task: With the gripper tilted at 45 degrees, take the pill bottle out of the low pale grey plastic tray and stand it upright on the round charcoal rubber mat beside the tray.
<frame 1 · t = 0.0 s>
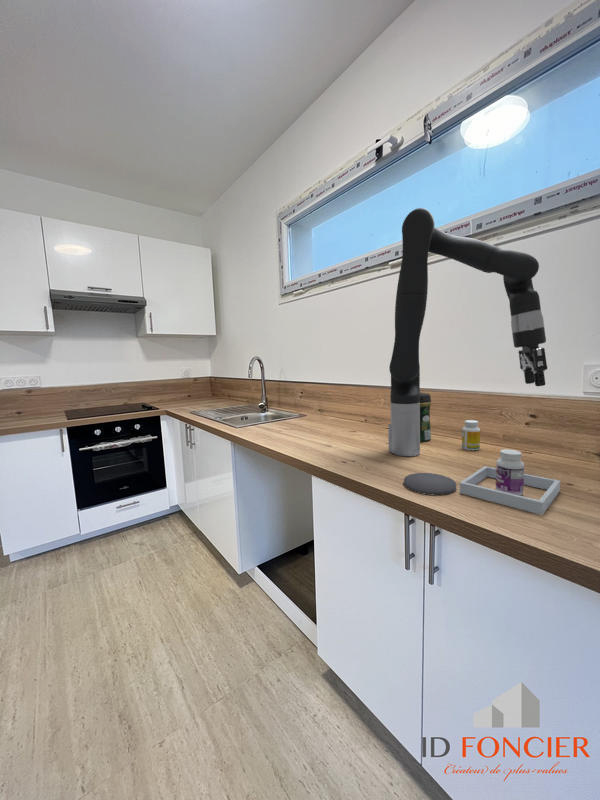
hand: (535, 384, 92), 22 cm above the worktop, tool pointing down, fingers open, 8 cm apart
grey tray: (509, 492, 73), on the worktop
charcoal mat: (429, 485, 79), on the worktop
pill bottle: (509, 493, 73), resting in grey tray
coffee jar: (417, 439, 124), on the worktop
supplement bottle: (470, 449, 108), on the worktop
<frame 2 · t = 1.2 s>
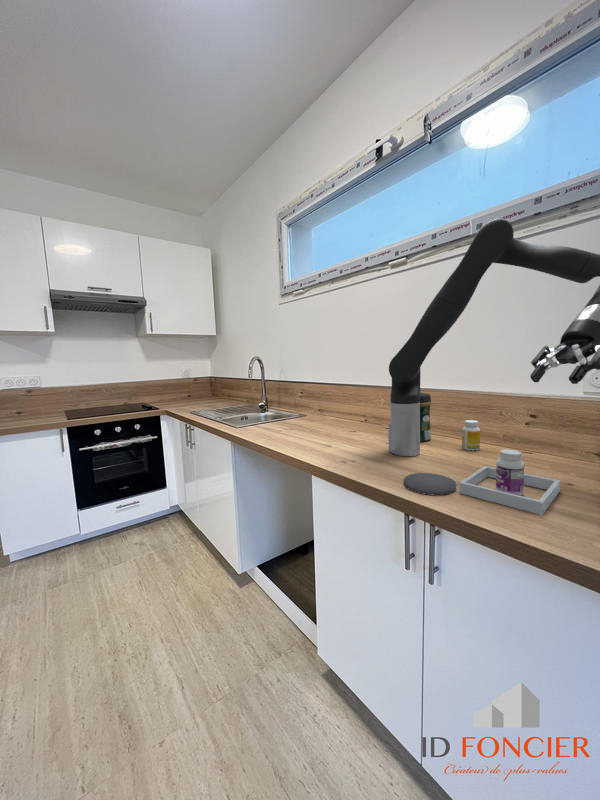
hand: (551, 380, 73), 25 cm above the worktop, tool tilted 45°, fingers open, 8 cm apart
nothing on the worktop moved.
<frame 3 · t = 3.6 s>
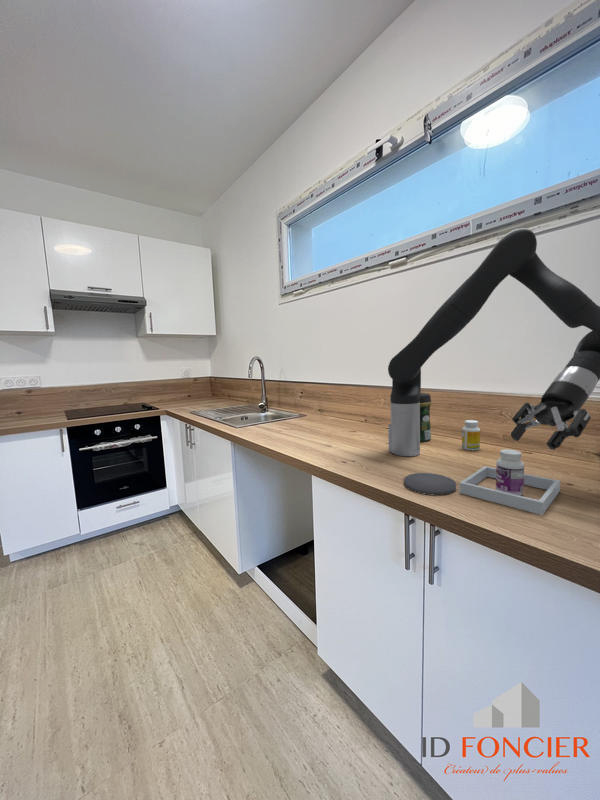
hand: (531, 442, 73), 11 cm above the worktop, tool tilted 45°, fingers open, 8 cm apart
nothing on the worktop moved.
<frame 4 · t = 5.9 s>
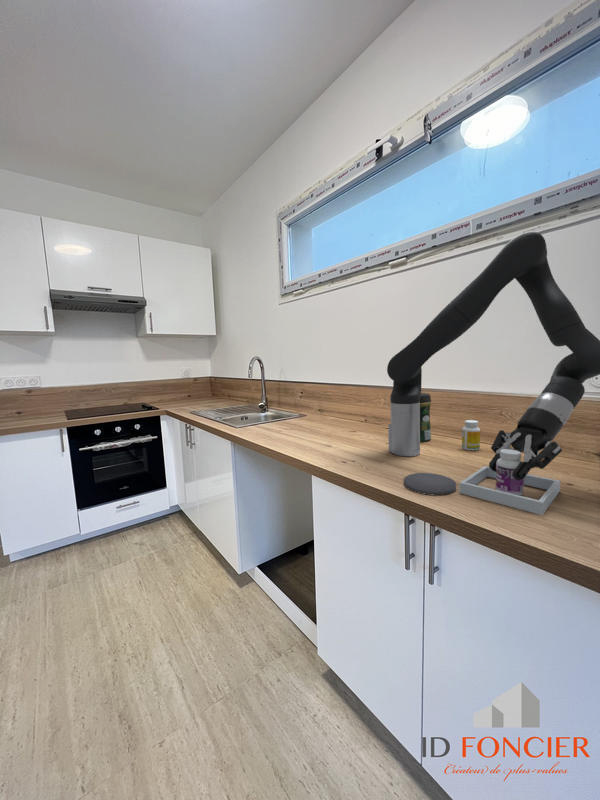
hand: (503, 473, 72), 5 cm above the worktop, tool tilted 45°, fingers closed on pill bottle, 5 cm apart
pill bottle: (509, 492, 73), resting in grey tray, touching gripper
everything else where it was.
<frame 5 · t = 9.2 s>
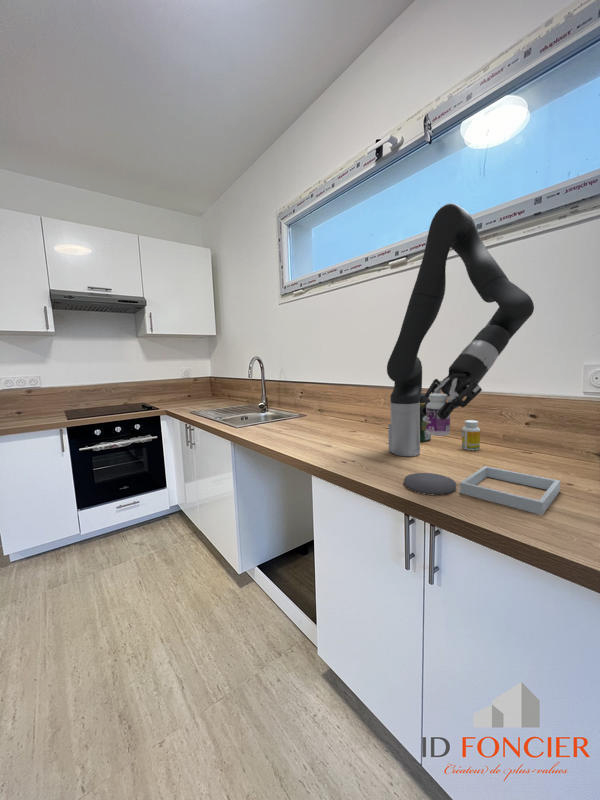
hand: (431, 415, 76), 18 cm above the worktop, tool tilted 45°, fingers closed on pill bottle, 5 cm apart
pill bottle: (437, 434, 77), point 13 cm above the worktop, touching gripper
everything else where it was.
when the fingers open (7 cm above the worktop, at t = 12.7 s): pill bottle stays where it is, resting on charcoal mat.
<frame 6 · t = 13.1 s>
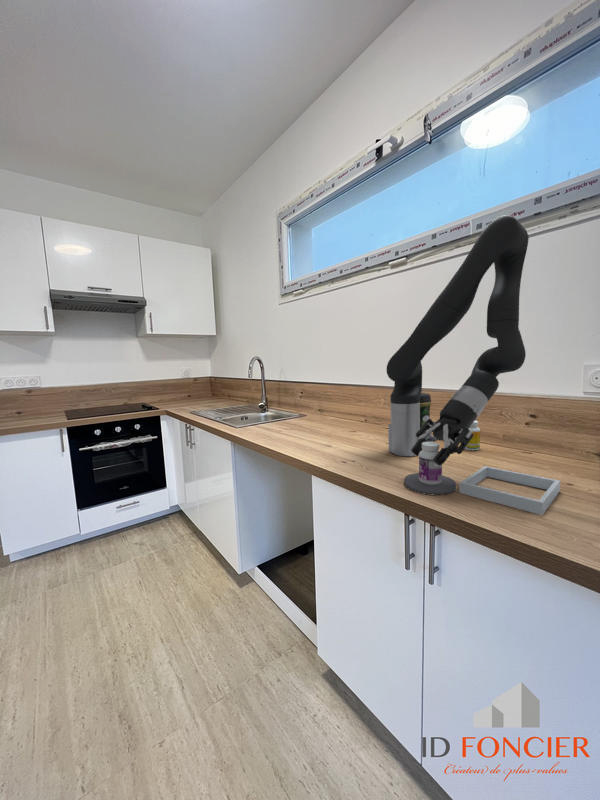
hand: (424, 458, 78), 7 cm above the worktop, tool tilted 45°, fingers open, 8 cm apart
pill bottle: (430, 482, 79), point 1 cm above the worktop, touching charcoal mat
everything else where it was.
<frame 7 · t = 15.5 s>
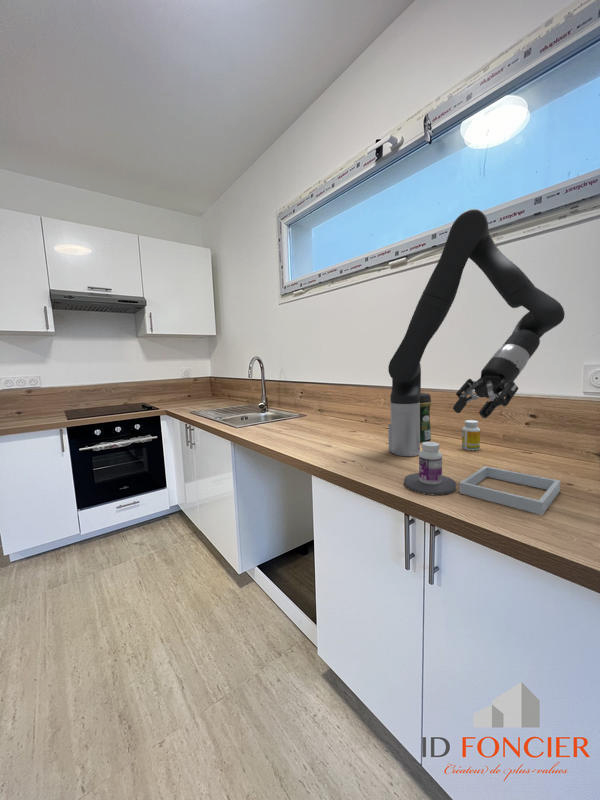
hand: (468, 413, 80), 17 cm above the worktop, tool tilted 45°, fingers open, 8 cm apart
nothing on the worktop moved.
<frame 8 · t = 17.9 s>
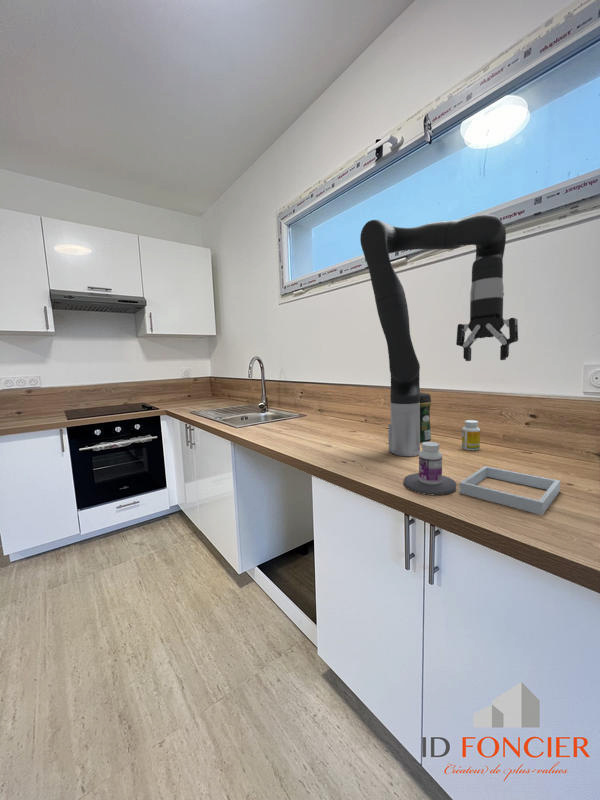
hand: (485, 360, 85), 30 cm above the worktop, tool pointing down, fingers open, 8 cm apart
nothing on the worktop moved.
at the end: pill bottle inside the target area on the charcoal mat (0.1 cm from its centre), point 0.8 cm above the charcoal mat's base; pill bottle tilted 0°; the gripper is holding nothing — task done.
